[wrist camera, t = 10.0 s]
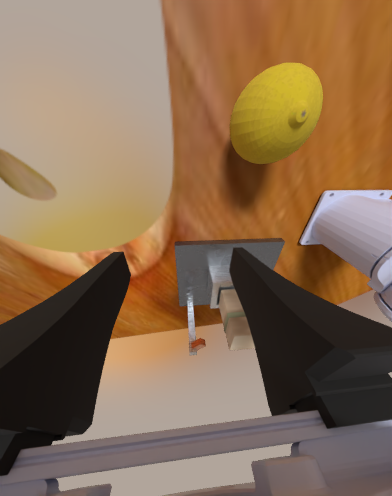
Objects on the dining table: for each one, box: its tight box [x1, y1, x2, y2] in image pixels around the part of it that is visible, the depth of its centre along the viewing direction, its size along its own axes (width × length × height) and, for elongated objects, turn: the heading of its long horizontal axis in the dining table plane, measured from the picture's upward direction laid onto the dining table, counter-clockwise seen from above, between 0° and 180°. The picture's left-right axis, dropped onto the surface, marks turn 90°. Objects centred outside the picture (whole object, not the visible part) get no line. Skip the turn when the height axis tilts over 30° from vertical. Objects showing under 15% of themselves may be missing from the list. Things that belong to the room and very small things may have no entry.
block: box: [219, 289, 255, 351], centre depth 20 cm, size 4×4×6 cm
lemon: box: [230, 63, 323, 164], centre depth 11 cm, size 6×6×8 cm
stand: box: [175, 238, 285, 355], centre depth 22 cm, size 16×14×9 cm
